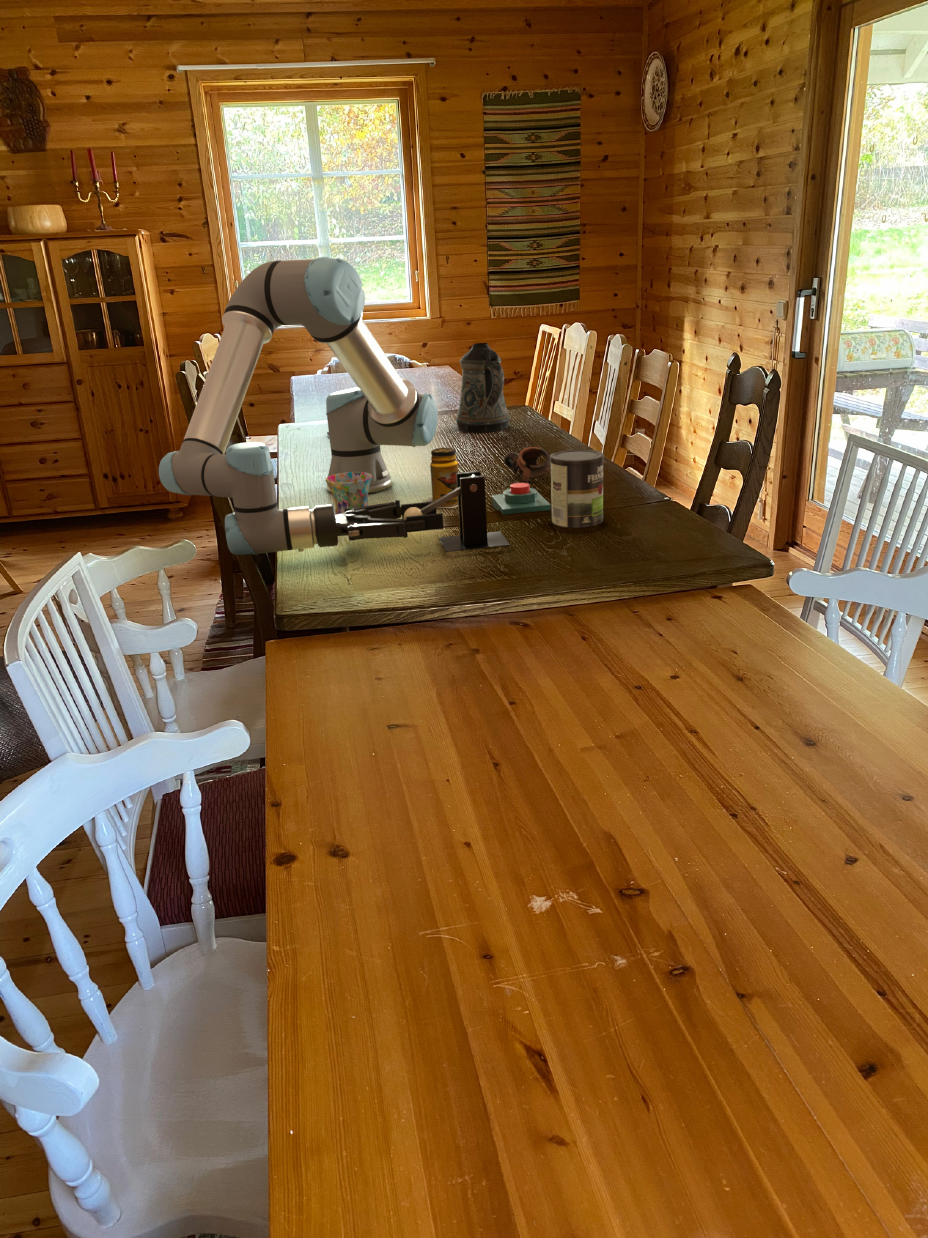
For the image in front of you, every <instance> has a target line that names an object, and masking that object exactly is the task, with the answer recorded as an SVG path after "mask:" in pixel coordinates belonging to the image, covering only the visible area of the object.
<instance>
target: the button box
mask: <svg viewBox="0 0 928 1238" xmlns="http://www.w3.org/2000/svg"><path fill="white" fill-rule="evenodd" d="M491 505H492V506H493V508H494V509H495V511H500V512H501V514H502V515H504V516H505V515H514V514H523V513H532V512H533V513H534V512H535V513H536V512H544V511H552V509H551V503H549V501H547V500H546V498H544V496H542V495H541V494H540V493H539V492H538V490H537V489H536V488H533V487H530V493H526V494H511V490H510V488H507V489H505V490H504V491H503V492H502V493H499V494H492V495H491Z"/></svg>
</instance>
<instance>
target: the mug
mask: <svg viewBox="0 0 928 1238" xmlns="http://www.w3.org/2000/svg"><path fill="white" fill-rule="evenodd" d="M371 478H372V475H371V474H369V473H365V472H345V473H339V474H334V475H331V476H329V477H328V476H327V477H326V478H325V479H324V481H325V482H326V485H327V484H328V486H329V488H330V490H331V492H330V493H331V496H332V499H333V502H334V509H335V515H336V514H341V513H345V512H344V508H347V507H348V508H351V507H362V506H369V493H368V490H369V485H370V481H371Z"/></svg>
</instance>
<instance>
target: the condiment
mask: <svg viewBox="0 0 928 1238" xmlns="http://www.w3.org/2000/svg"><path fill="white" fill-rule="evenodd" d="M430 454H431V457H430V461H431V462H430V464H429V465H430V466H429V468H430V481H431V482H430V483H431V496H430V497H428V499H427V500H426V501H425V502H433V501H436V500H438V499H439V498H441V497H443V496H445V495H446V494H448V493H450V492H452V491H453V490H455V489H457V479H456V473H459V462H458V461H457V456H456V449H455V448H453V447H438V448H434V449H432V450H431V451H430ZM437 508H439V509H456V508H458V496H456V497H455V498H453V499H451V500H449V501H448V502H446V503H444V504H442V505H441V506H439V507H437ZM437 508H436V509H437Z"/></svg>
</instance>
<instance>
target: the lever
mask: <svg viewBox="0 0 928 1238" xmlns="http://www.w3.org/2000/svg"><path fill="white" fill-rule="evenodd" d="M473 476H475V475H474V474H472V475H470V476H469V477H473ZM460 494H461V492H460V487H458V488H457V489H455V490H453V491H452V492H450V493H448V494H446V495H445V496H443V497H441V498H439V499H438V500H436V501H434V502H432V503H431V504H429V505H427V506H425V507H424V508H422V509H418V508H416V507H411V508H409V509H407V510H406V511H405V513H404V519H406V517H408V516H418V515H425V514H427V513H428V512H430V511H432V510H434V509H435V508H436V509H437V507H439V506H441V505H442V504H444V503H446V502H448V501H449V500H451V499H453V498H455V497H456V496H458V495H460Z"/></svg>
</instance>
